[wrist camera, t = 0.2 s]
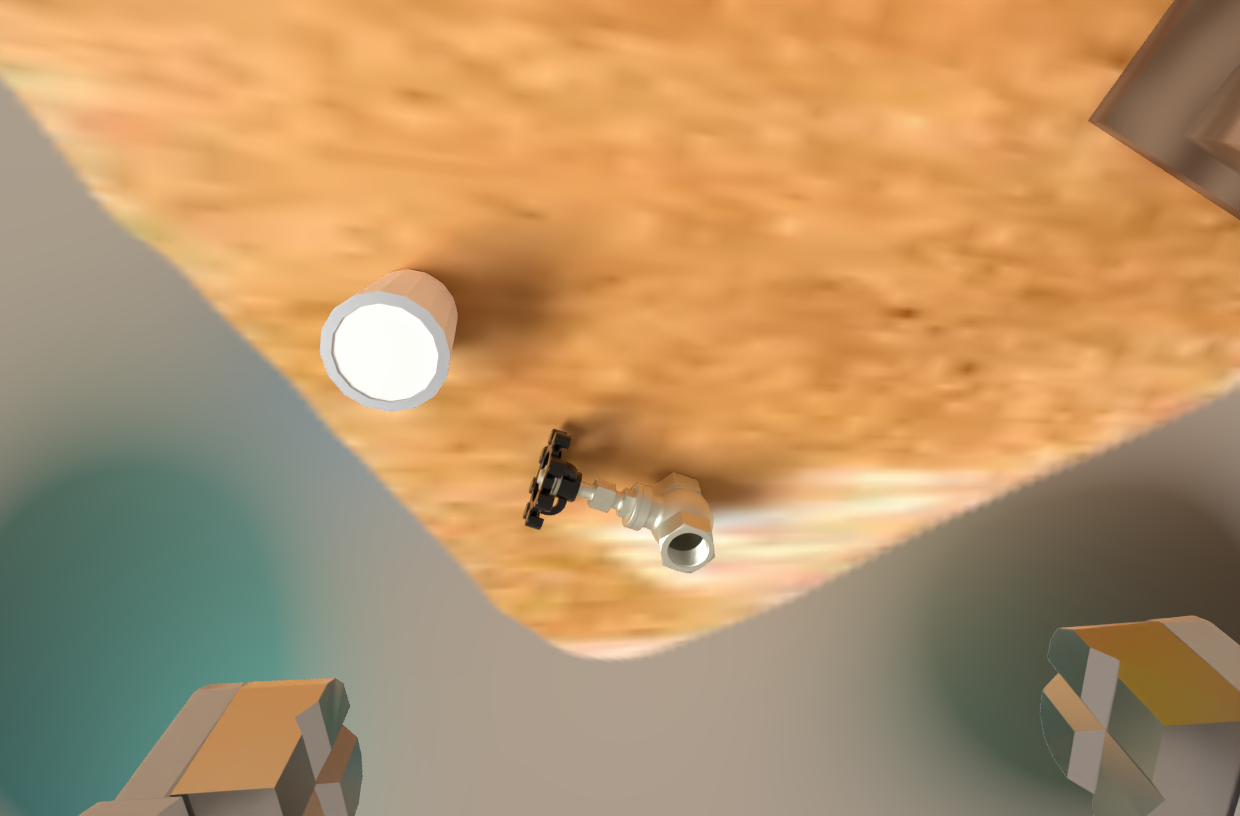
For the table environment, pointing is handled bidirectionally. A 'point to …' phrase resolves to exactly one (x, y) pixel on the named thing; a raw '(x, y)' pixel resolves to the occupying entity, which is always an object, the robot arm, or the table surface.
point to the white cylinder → (391, 341)
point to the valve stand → (1185, 99)
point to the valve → (629, 506)
